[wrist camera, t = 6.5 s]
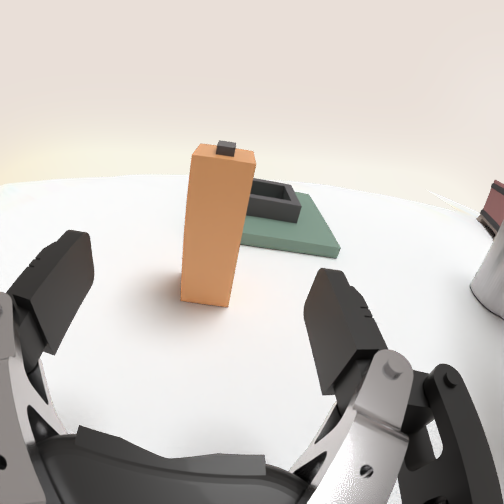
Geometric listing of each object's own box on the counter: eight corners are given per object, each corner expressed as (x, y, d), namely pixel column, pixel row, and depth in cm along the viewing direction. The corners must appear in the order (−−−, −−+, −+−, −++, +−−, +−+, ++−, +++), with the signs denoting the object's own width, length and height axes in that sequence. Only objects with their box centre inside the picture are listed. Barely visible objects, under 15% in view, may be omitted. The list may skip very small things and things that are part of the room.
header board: (336, 258, 33) (347, 230, 31) (188, 236, 31) (191, 204, 29) (306, 202, 48) (312, 181, 46) (205, 185, 46) (208, 163, 44)
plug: (228, 307, 23) (258, 155, 16) (180, 300, 22) (193, 145, 16) (229, 277, 26) (254, 143, 19) (187, 272, 26) (201, 135, 19)
